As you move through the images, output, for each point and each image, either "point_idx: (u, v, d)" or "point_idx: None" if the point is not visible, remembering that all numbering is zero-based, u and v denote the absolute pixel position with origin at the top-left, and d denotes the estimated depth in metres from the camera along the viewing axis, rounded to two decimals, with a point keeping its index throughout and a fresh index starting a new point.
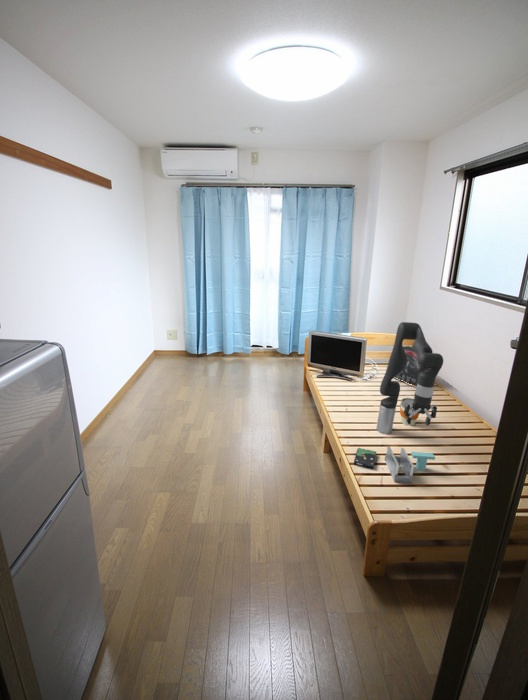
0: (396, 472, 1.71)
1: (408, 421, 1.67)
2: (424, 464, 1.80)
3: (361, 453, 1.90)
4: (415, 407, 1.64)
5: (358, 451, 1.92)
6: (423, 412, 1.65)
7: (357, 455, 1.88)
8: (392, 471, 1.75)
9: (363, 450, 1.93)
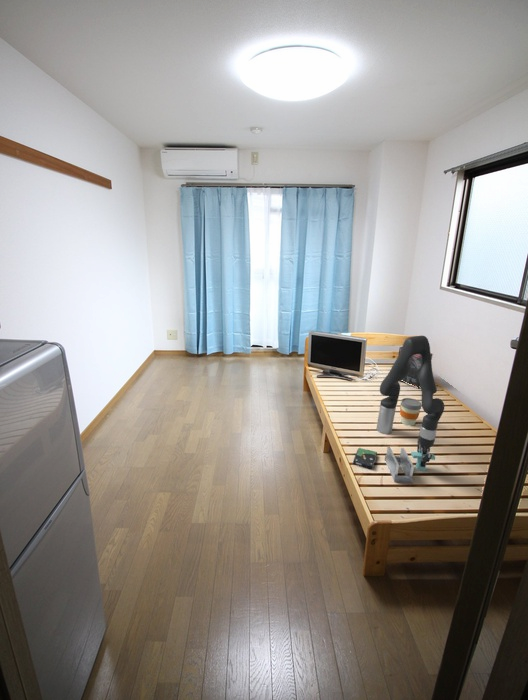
0: (396, 472, 1.71)
1: (425, 464, 1.79)
2: None
3: (361, 453, 1.90)
4: None
5: (358, 451, 1.92)
6: None
7: (357, 455, 1.88)
8: (392, 471, 1.75)
9: (363, 450, 1.93)
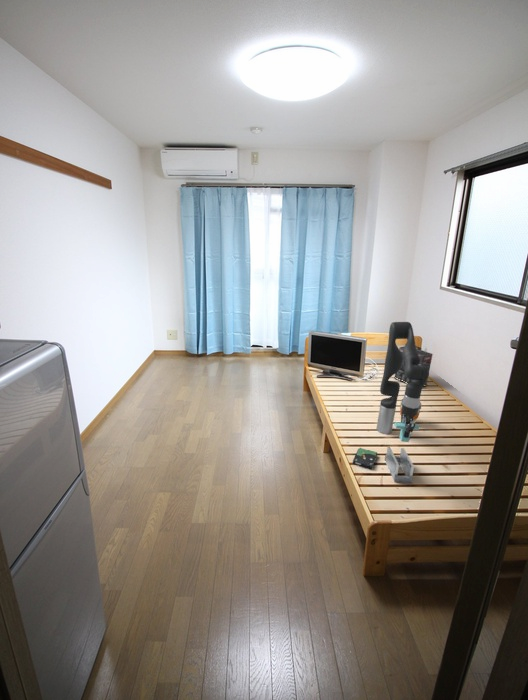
0: (396, 472, 1.71)
1: (408, 435, 1.71)
2: None
3: (361, 453, 1.90)
4: None
5: (359, 451, 1.92)
6: None
7: (357, 455, 1.89)
8: (392, 471, 1.75)
9: (364, 450, 1.93)
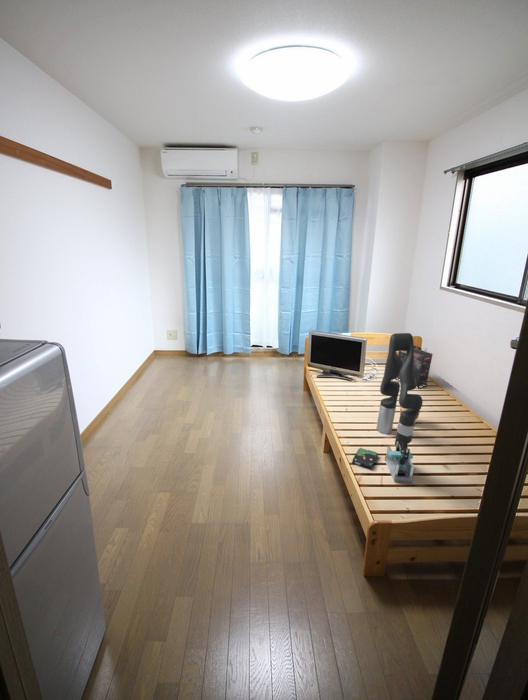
0: (396, 472, 1.71)
1: (404, 462, 1.73)
2: None
3: (362, 453, 1.90)
4: None
5: (359, 451, 1.92)
6: None
7: (357, 455, 1.89)
8: (392, 471, 1.75)
9: (364, 450, 1.93)
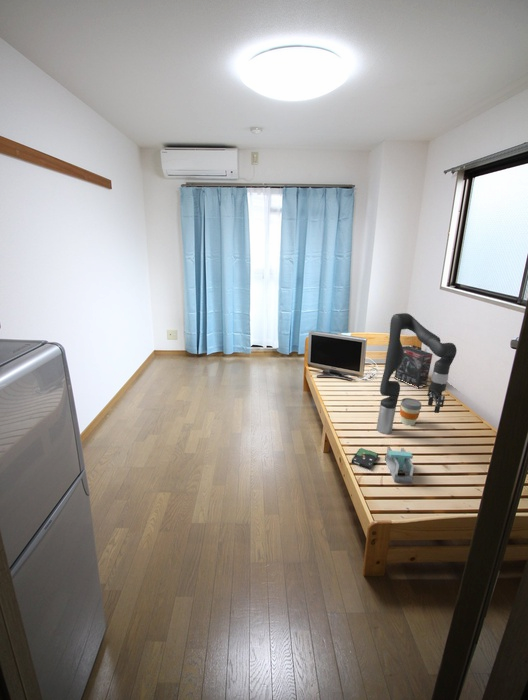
0: (396, 472, 1.71)
1: (438, 410, 1.78)
2: (402, 463, 1.76)
3: (362, 453, 1.90)
4: None
5: (359, 451, 1.92)
6: None
7: (357, 455, 1.89)
8: (392, 471, 1.75)
9: (365, 450, 1.93)
